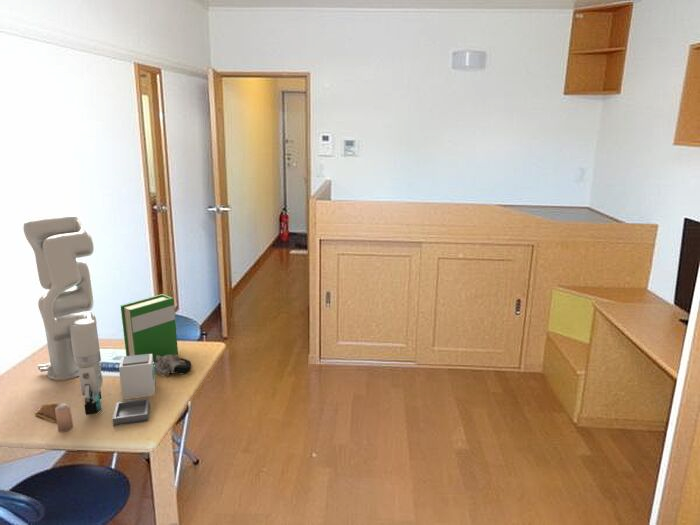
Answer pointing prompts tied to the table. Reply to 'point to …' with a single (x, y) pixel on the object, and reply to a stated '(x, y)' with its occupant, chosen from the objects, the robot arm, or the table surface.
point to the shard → (48, 412)
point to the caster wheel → (171, 365)
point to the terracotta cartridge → (63, 417)
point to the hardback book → (150, 326)
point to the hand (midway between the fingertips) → (94, 406)
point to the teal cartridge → (97, 401)
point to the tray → (131, 412)
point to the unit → (137, 376)
